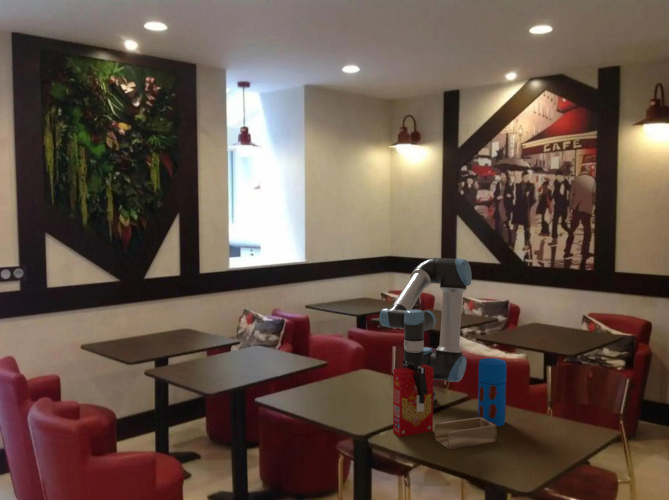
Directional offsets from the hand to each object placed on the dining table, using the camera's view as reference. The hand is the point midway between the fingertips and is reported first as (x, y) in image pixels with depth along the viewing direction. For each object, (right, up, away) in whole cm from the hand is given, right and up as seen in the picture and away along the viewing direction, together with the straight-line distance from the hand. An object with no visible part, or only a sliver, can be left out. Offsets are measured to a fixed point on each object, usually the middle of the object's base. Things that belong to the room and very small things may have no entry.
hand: (413, 406), depth 236 cm
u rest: (+19, -10, -8) cm, 23 cm away
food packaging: (0, -10, +1) cm, 10 cm away
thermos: (+33, -9, +12) cm, 36 cm away
